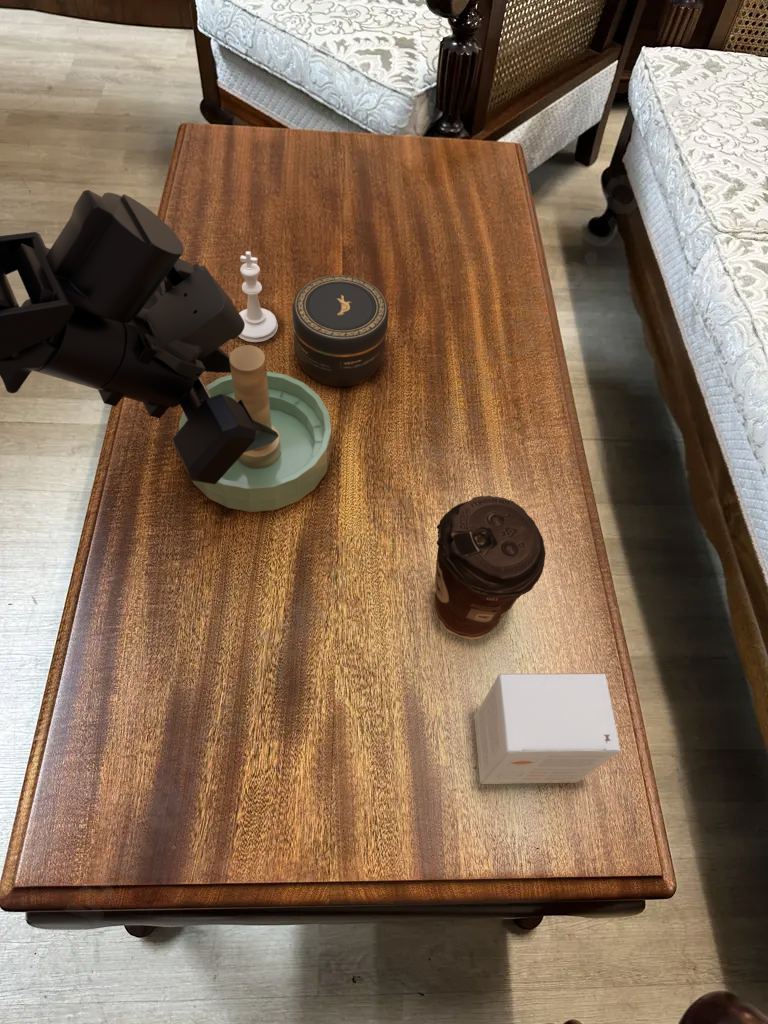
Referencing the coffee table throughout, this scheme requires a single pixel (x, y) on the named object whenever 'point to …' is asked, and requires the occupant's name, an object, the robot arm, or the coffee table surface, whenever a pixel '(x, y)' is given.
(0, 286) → the robot arm
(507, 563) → the coffee cup
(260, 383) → the muddler
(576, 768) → the small box
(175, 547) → the coffee table surface
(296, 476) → the bowl
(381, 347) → the jar
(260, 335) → the chess piece
